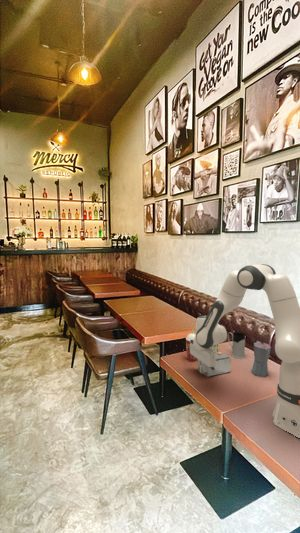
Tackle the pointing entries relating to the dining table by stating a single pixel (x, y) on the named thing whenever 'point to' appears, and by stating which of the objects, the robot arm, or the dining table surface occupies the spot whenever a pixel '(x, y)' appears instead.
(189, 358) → the smoothie
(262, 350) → the moka pot
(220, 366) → the side door
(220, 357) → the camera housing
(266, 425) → the dining table surface
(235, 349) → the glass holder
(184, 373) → the dining table surface
